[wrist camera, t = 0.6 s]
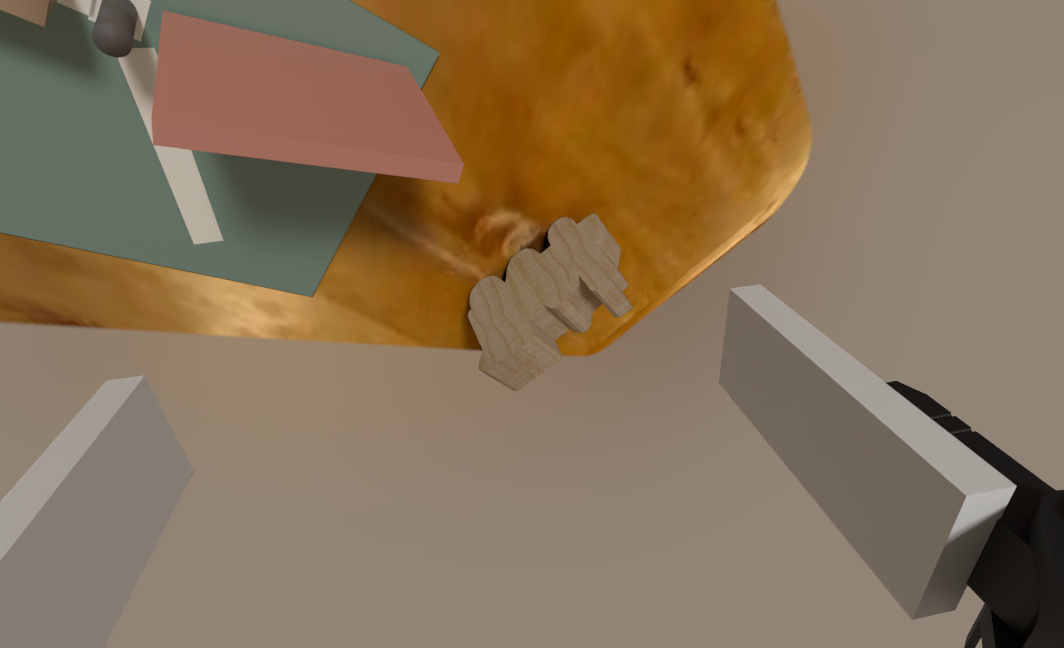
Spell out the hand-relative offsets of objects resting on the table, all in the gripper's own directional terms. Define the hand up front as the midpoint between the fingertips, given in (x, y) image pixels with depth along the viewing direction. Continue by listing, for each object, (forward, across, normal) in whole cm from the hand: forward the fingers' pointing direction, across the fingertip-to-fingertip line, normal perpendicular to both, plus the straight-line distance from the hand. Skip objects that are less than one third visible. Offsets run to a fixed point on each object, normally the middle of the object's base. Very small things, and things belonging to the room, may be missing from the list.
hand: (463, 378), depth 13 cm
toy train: (+42, +7, -16) cm, 45 cm away
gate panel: (+30, -8, +6) cm, 32 cm away
